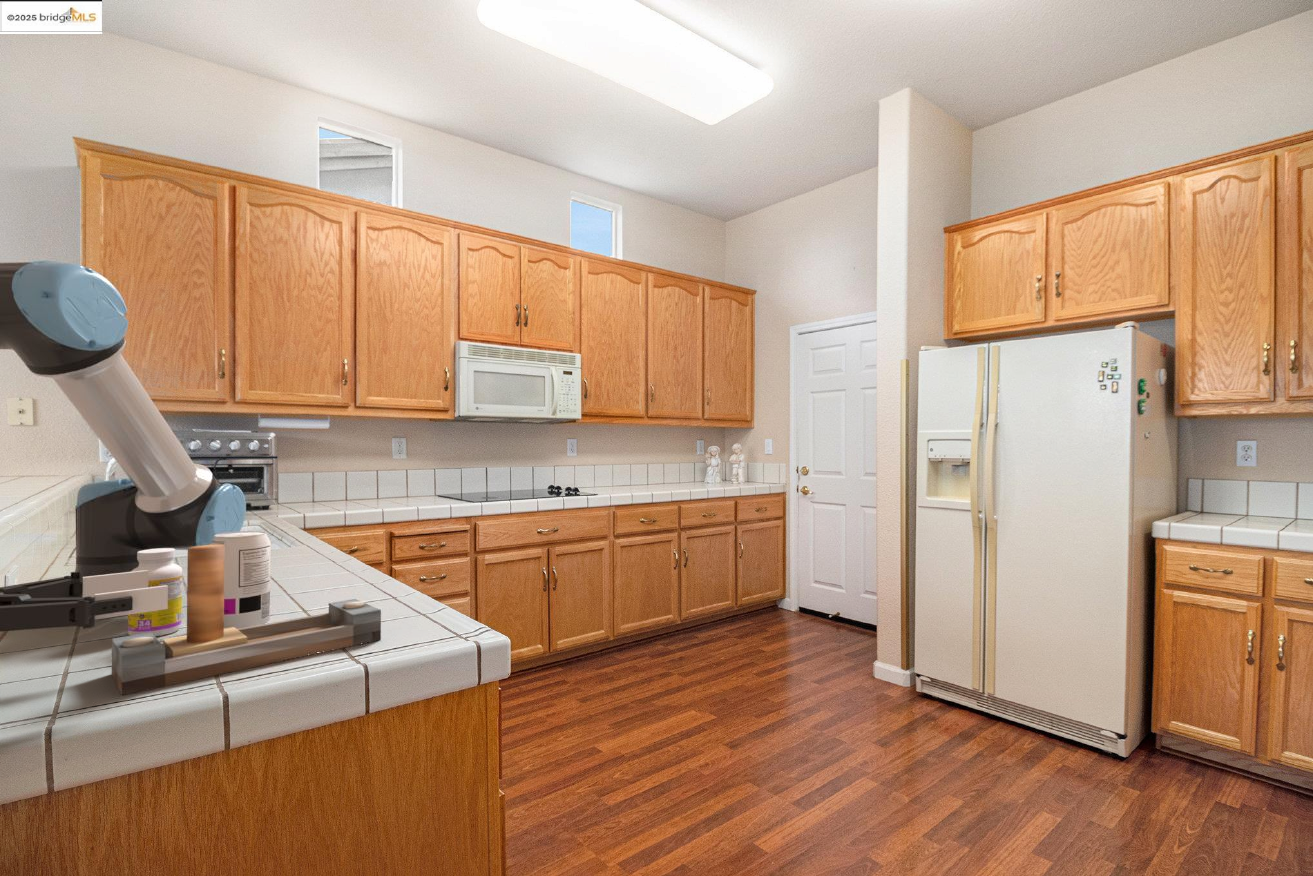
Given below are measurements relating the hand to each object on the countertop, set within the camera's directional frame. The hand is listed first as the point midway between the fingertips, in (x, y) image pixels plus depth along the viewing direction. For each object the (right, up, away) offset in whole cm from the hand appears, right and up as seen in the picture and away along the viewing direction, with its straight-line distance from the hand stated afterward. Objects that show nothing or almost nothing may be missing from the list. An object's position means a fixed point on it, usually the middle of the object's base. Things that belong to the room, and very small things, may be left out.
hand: (157, 588), depth 81 cm
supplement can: (-4, -12, +22) cm, 25 cm away
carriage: (+3, -9, +4) cm, 11 cm away
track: (+8, -11, +8) cm, 16 cm away
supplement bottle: (-15, -12, +19) cm, 27 cm away
